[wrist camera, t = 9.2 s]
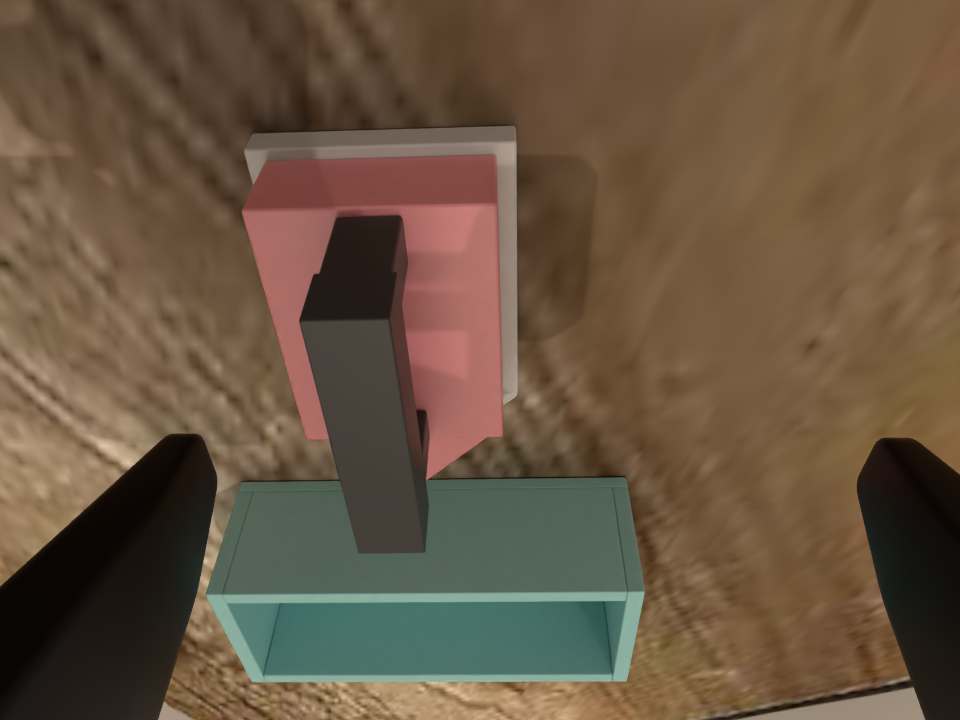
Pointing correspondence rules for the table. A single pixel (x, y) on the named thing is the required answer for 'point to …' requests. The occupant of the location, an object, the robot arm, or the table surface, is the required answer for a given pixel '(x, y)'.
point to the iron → (391, 302)
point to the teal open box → (434, 585)
